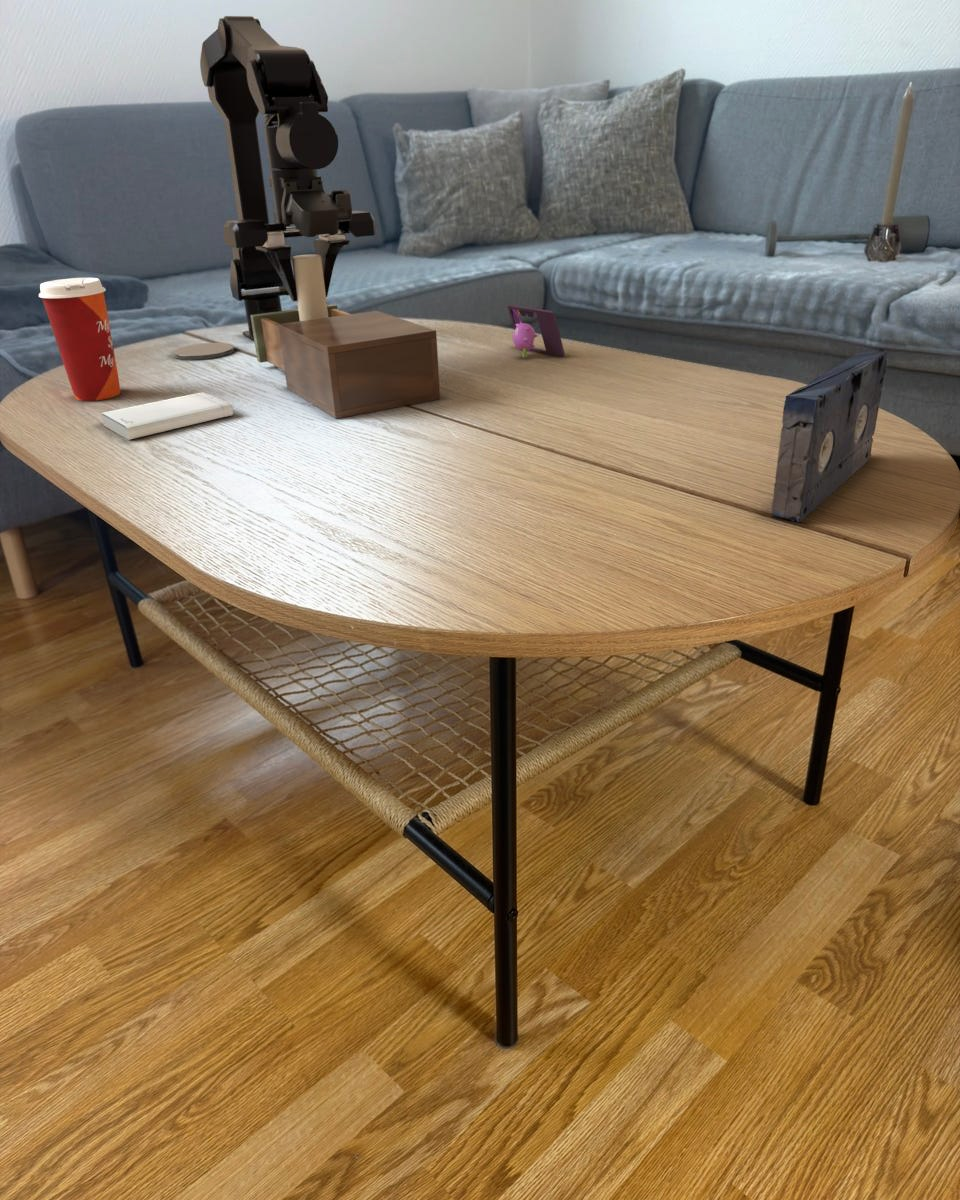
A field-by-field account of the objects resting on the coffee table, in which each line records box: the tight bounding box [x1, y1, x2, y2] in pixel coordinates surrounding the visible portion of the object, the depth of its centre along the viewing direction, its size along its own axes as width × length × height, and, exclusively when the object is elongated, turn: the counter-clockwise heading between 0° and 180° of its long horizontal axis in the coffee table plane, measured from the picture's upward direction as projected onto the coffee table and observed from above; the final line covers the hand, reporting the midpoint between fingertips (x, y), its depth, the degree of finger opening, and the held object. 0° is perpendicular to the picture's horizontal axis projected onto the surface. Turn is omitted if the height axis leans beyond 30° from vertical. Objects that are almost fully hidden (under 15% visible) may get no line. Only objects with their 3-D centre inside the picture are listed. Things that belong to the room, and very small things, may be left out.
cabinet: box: [278, 310, 441, 420], centre depth 107 cm, size 17×14×8 cm
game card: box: [507, 304, 566, 359], centre depth 122 cm, size 7×5×9 cm
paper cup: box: [38, 277, 121, 402], centre depth 109 cm, size 8×8×14 cm
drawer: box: [251, 304, 351, 372], centre depth 119 cm, size 20×12×6 cm, turn 30°
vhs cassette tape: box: [770, 349, 888, 523], centre depth 74 cm, size 18×3×10 cm, turn 140°
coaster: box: [172, 342, 235, 361], centre depth 133 cm, size 9×9×1 cm
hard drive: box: [100, 391, 234, 441], centre depth 101 cm, size 2×8×12 cm
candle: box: [291, 253, 328, 321], centre depth 114 cm, size 4×4×9 cm
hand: (309, 299), depth 115 cm, fingers closed on candle, 4 cm apart
